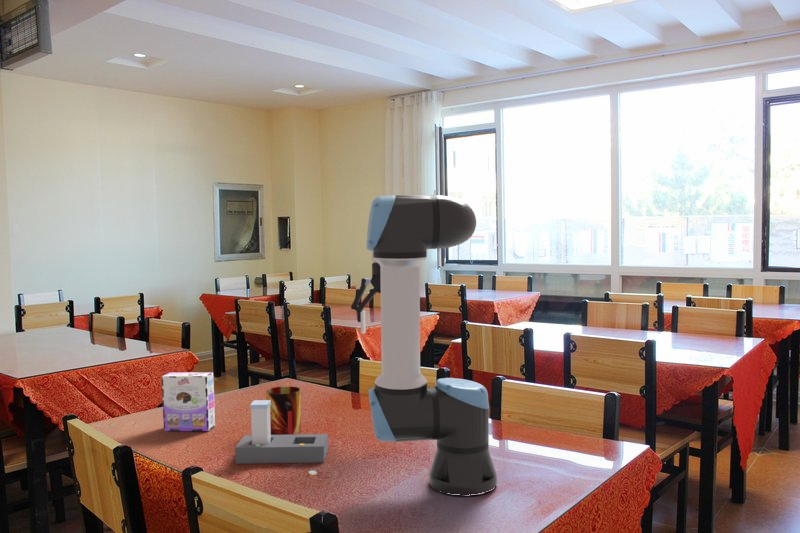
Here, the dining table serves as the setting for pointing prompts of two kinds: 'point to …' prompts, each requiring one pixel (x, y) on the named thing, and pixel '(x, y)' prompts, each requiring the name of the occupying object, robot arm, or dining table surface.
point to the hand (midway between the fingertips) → (385, 333)
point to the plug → (260, 422)
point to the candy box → (188, 401)
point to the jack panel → (283, 449)
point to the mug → (284, 410)
